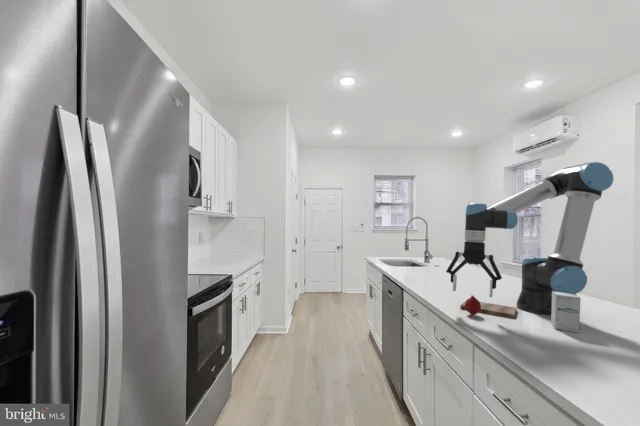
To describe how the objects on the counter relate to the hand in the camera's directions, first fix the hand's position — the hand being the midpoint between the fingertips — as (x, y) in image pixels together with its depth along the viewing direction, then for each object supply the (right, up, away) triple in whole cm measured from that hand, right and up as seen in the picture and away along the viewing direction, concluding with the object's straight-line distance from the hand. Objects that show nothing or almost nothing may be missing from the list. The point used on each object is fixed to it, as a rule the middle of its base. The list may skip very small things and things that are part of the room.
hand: (472, 293), depth 129 cm
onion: (0, -9, 0) cm, 9 cm away
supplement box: (+28, -10, -13) cm, 32 cm away
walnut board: (+11, -9, +9) cm, 17 cm away
